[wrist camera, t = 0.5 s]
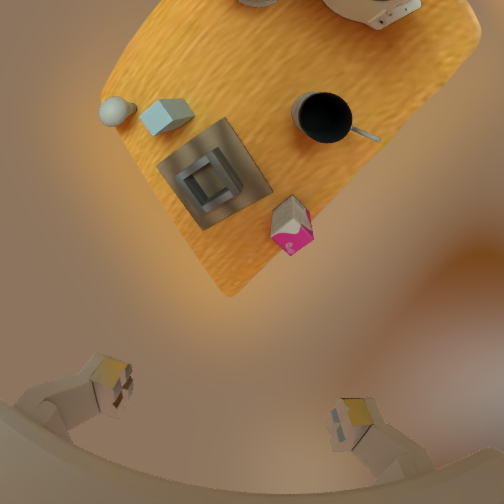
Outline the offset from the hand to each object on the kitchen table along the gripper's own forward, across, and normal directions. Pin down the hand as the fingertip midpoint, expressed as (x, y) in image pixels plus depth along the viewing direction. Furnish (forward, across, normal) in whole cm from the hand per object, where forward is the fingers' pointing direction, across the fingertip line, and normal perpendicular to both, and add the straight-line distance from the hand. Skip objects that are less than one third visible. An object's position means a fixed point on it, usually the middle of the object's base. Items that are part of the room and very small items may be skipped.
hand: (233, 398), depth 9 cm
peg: (+46, +18, -19) cm, 53 cm away
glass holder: (+44, -10, -23) cm, 51 cm away
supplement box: (+50, -8, -2) cm, 51 cm away
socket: (+49, +10, -7) cm, 51 cm away
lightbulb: (+46, +30, -20) cm, 58 cm away
